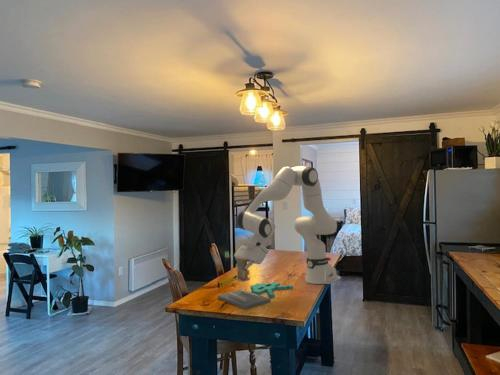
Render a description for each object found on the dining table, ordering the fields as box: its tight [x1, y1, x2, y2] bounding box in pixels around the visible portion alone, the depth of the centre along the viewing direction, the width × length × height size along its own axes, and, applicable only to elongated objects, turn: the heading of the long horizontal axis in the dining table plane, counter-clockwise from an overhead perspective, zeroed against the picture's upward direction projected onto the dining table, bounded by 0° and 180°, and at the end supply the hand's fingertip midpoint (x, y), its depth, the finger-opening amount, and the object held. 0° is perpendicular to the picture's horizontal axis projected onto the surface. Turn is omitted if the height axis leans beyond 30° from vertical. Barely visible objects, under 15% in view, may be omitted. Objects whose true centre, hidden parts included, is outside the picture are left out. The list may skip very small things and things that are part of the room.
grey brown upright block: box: [235, 258, 251, 283], centre depth 186 cm, size 5×6×11 cm
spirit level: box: [217, 269, 250, 288], centre depth 225 cm, size 33×1×3 cm, turn 149°
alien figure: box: [250, 281, 294, 299], centre depth 201 cm, size 20×2×20 cm
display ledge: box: [217, 288, 271, 310], centre depth 186 cm, size 16×24×3 cm, turn 38°
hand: (241, 267), depth 185 cm, fingers closed on grey brown upright block, 5 cm apart
